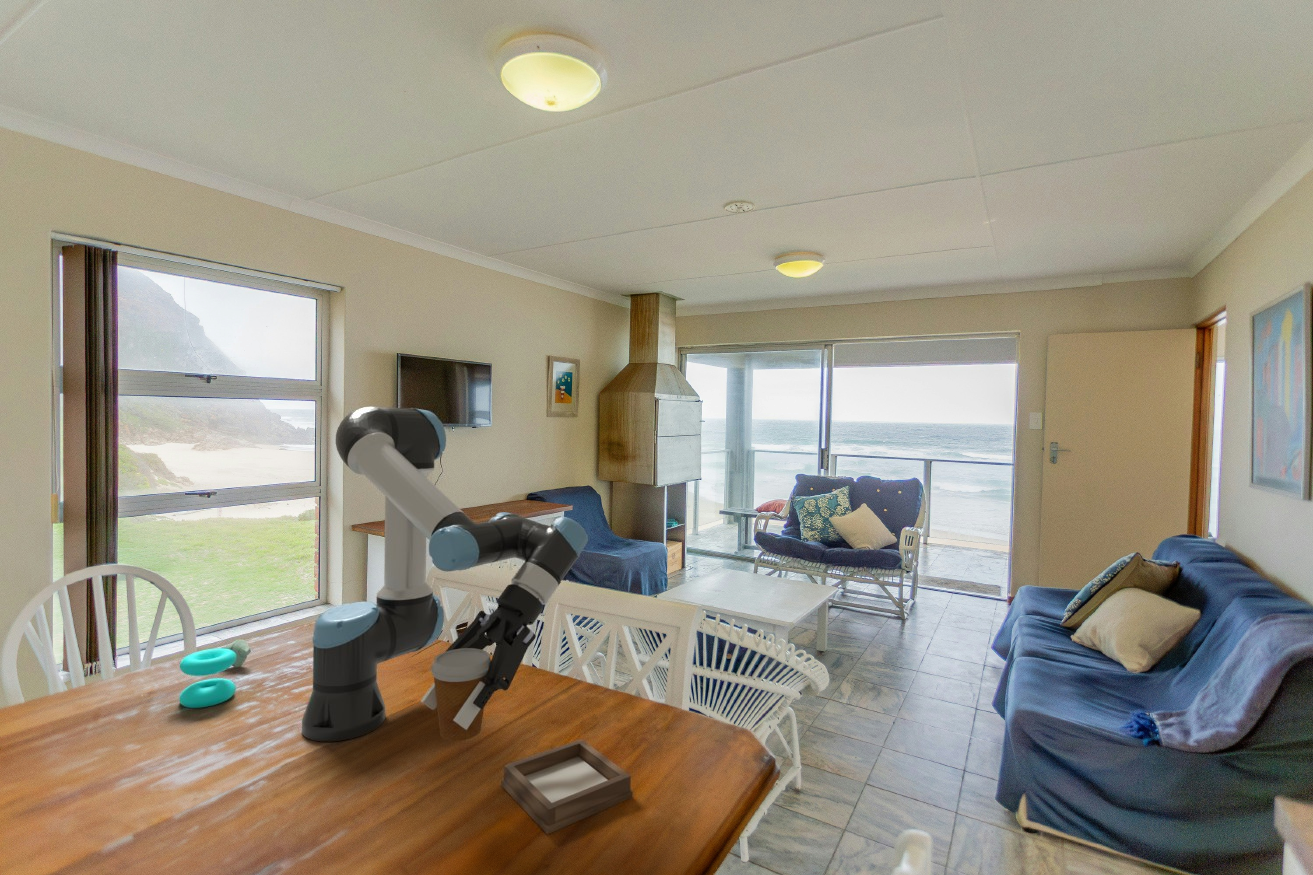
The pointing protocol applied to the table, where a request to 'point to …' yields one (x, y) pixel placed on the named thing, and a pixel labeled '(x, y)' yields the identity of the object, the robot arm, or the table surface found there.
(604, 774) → the holder
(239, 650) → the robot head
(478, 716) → the disposable coffee cup
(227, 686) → the donuts
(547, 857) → the table surface
